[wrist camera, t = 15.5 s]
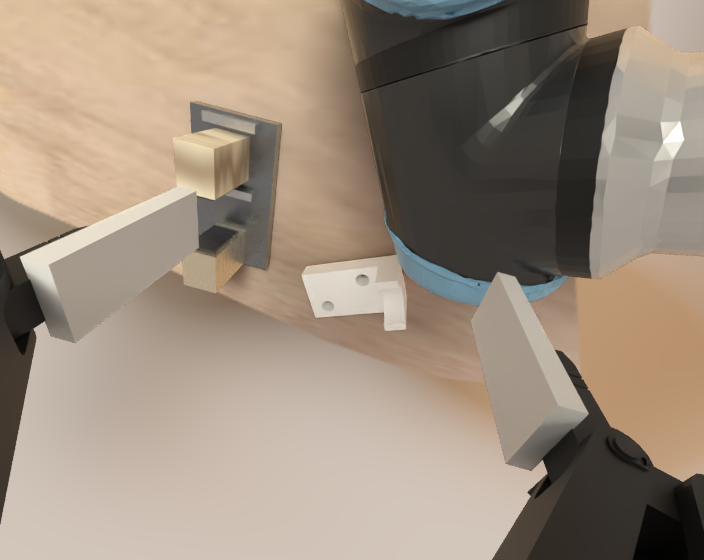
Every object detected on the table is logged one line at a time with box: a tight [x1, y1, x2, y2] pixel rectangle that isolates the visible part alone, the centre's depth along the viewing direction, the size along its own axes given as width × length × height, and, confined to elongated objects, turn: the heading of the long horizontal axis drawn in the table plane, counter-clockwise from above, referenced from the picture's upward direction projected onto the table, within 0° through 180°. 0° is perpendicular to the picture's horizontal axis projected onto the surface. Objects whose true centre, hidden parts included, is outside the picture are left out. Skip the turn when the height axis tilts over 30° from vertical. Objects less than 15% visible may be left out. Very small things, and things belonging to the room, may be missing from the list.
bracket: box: [301, 255, 407, 331], centre depth 43 cm, size 13×7×8 cm, turn 103°
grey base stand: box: [182, 101, 282, 293], centre depth 38 cm, size 19×10×10 cm, turn 168°
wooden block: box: [173, 128, 250, 201], centre depth 35 cm, size 5×4×8 cm
